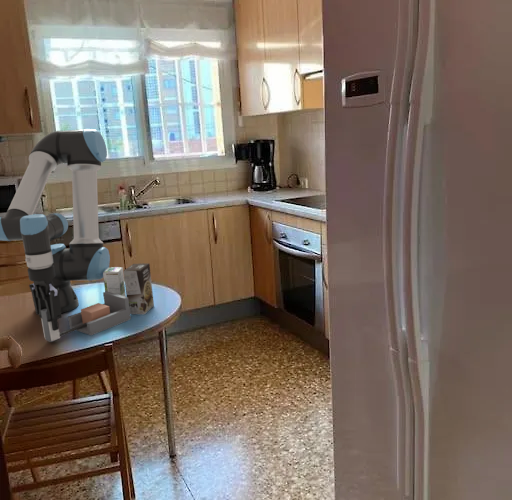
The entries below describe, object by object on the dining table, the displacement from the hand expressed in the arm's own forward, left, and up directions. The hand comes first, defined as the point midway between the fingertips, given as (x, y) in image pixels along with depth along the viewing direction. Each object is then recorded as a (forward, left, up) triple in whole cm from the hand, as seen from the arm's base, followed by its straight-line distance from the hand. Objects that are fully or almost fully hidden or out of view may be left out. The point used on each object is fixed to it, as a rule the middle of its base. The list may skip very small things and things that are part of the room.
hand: (52, 337), depth 172 cm
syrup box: (-8, +31, -2) cm, 32 cm away
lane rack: (0, +18, -2) cm, 18 cm away
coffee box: (+2, +34, -2) cm, 34 cm away
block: (0, +9, -1) cm, 9 cm away
